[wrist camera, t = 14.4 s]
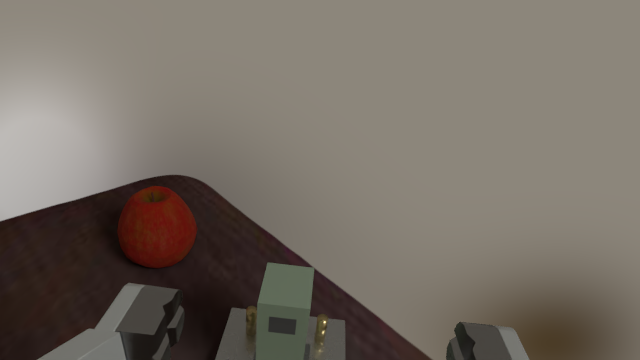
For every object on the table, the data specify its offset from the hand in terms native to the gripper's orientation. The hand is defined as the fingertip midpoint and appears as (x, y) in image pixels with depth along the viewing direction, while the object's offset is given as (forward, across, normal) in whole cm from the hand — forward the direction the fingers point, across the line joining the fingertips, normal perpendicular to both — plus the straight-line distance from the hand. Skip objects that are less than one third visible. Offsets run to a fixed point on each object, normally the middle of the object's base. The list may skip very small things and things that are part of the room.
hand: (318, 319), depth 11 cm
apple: (+34, -22, -30) cm, 51 cm away
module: (+17, -2, -28) cm, 33 cm away
